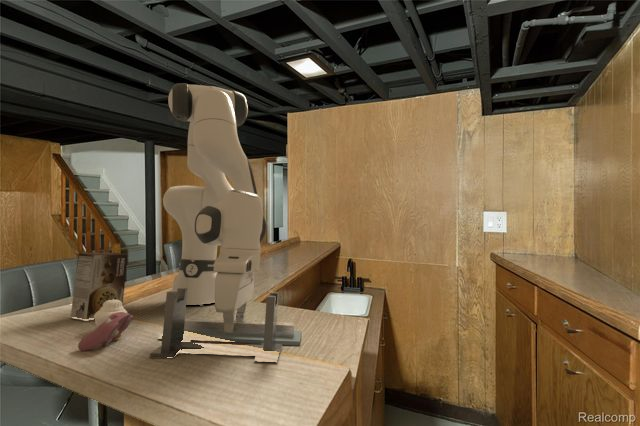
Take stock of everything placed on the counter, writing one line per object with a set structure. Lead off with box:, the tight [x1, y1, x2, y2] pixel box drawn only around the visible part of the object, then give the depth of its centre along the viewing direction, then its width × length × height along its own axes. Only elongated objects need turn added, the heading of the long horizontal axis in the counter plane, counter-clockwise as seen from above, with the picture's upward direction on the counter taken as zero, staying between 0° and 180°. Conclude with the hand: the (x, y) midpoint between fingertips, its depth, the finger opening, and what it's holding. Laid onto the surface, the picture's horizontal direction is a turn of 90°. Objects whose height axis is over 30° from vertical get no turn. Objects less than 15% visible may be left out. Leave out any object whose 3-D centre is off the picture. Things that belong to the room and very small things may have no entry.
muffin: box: [94, 299, 129, 328], centre depth 67 cm, size 6×6×7 cm
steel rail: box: [184, 317, 296, 337], centre depth 68 cm, size 2×26×2 cm, turn 91°
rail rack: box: [149, 288, 283, 359], centre depth 58 cm, size 8×22×11 cm, turn 91°
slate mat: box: [197, 330, 302, 347], centre depth 67 cm, size 8×29×1 cm, turn 91°
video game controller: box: [77, 312, 134, 352], centre depth 60 cm, size 10×5×7 cm
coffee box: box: [70, 252, 129, 319], centre depth 80 cm, size 9×6×16 cm
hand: (235, 325), depth 68 cm, fingers open, 8 cm apart
